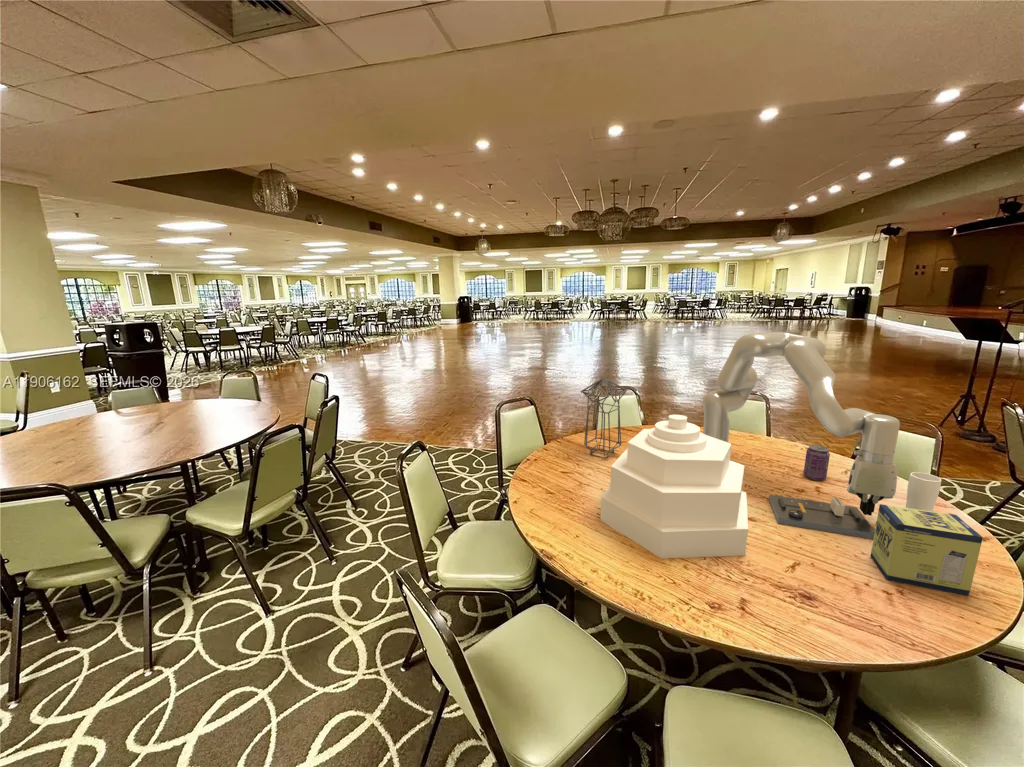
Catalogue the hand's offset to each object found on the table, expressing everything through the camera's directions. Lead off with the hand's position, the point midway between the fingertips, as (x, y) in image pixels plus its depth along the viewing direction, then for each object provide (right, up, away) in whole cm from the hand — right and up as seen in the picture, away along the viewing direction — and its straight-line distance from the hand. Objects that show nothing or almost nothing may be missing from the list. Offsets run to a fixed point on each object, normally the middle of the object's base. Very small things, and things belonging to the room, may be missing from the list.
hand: (866, 512), depth 125 cm
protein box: (-7, -9, -22) cm, 25 cm away
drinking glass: (+16, -3, +1) cm, 17 cm away
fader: (-7, -1, +3) cm, 7 cm away
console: (-12, -3, +4) cm, 13 cm away
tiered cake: (-57, -4, +6) cm, 57 cm away
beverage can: (+8, +3, +32) cm, 33 cm away
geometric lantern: (-68, +7, +58) cm, 90 cm away
